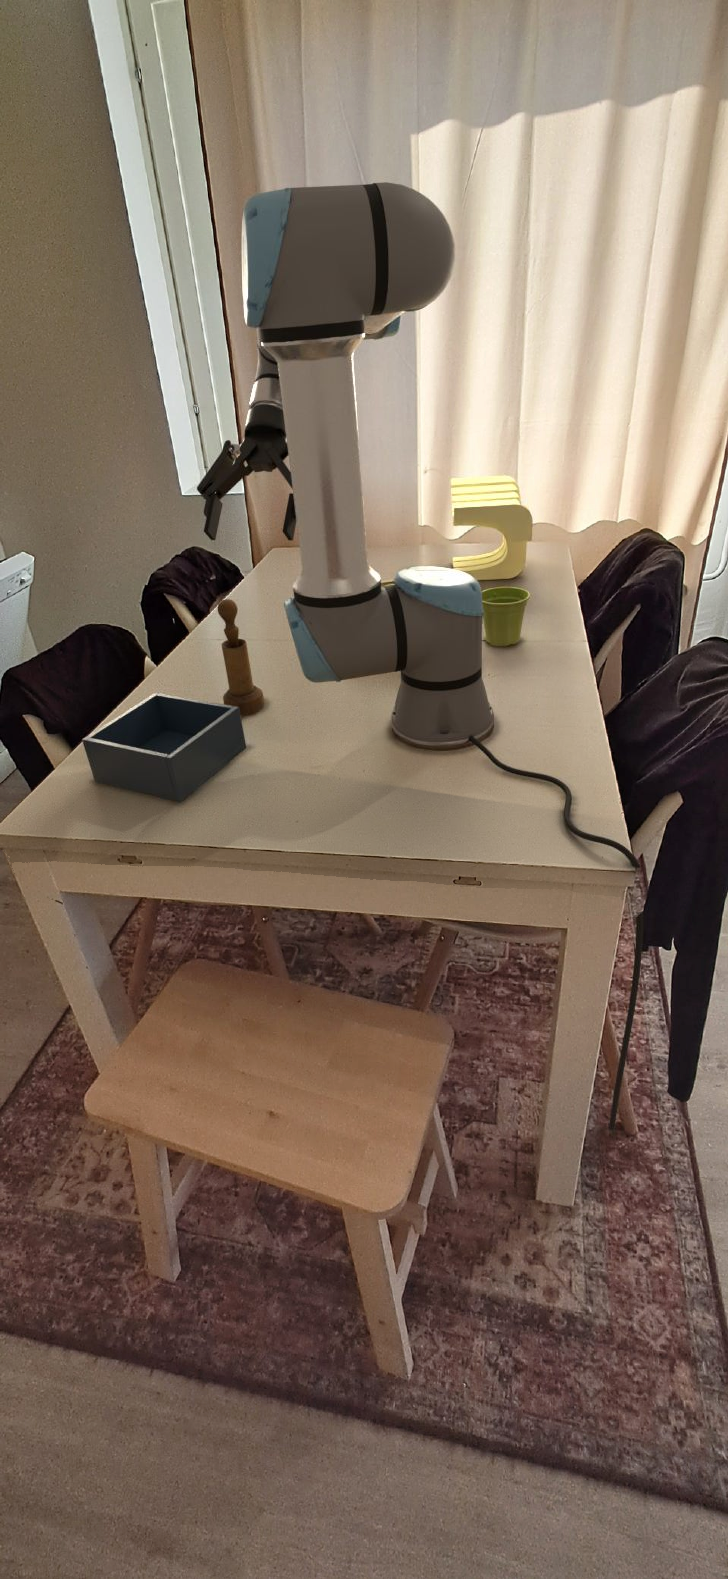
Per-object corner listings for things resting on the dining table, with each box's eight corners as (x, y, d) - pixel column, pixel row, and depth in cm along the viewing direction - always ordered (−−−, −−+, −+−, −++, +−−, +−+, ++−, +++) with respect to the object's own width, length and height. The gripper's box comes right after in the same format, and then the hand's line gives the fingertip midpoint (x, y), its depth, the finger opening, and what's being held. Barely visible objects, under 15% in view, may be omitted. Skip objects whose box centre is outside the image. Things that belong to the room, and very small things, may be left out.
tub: (246, 747, 114) (239, 706, 110) (180, 802, 102) (170, 758, 99) (165, 731, 120) (155, 692, 117) (94, 781, 109) (81, 739, 105)
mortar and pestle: (257, 716, 122) (238, 607, 113) (219, 715, 124) (197, 608, 114) (269, 698, 128) (253, 593, 118) (233, 697, 129) (213, 593, 120)
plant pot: (470, 648, 139) (470, 602, 135) (484, 629, 146) (484, 585, 142) (522, 652, 136) (523, 605, 131) (533, 633, 143) (535, 587, 138)
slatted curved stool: (529, 589, 164) (533, 503, 155) (455, 593, 166) (453, 508, 156) (516, 550, 189) (519, 474, 180) (452, 554, 191) (450, 478, 181)
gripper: (349, 429, 125) (329, 548, 121) (212, 435, 132) (189, 547, 128) (336, 397, 118) (314, 522, 114) (192, 405, 125) (166, 523, 121)
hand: (247, 536), depth 121 cm, fingers open, 13 cm apart
